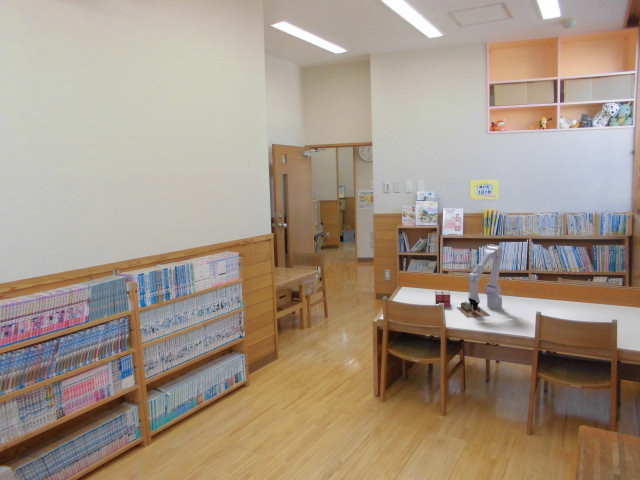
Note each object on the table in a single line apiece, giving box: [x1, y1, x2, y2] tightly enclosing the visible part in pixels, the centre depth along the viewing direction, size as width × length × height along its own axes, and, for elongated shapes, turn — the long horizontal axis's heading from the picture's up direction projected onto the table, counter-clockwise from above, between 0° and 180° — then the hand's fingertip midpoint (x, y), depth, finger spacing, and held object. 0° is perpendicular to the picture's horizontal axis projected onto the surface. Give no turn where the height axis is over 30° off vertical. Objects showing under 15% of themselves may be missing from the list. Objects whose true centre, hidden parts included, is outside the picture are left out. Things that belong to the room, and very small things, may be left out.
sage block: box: [464, 300, 476, 313], centre depth 324 cm, size 5×12×6 cm, turn 3°
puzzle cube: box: [434, 290, 451, 308], centre depth 339 cm, size 10×10×10 cm
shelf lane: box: [455, 301, 491, 318], centre depth 321 cm, size 16×22×4 cm
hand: (474, 309), depth 319 cm, fingers closed on sage block, 3 cm apart
